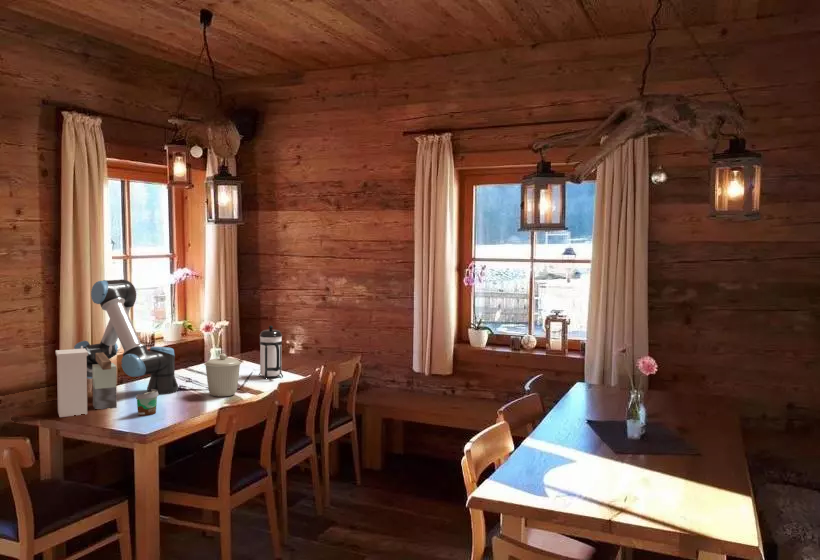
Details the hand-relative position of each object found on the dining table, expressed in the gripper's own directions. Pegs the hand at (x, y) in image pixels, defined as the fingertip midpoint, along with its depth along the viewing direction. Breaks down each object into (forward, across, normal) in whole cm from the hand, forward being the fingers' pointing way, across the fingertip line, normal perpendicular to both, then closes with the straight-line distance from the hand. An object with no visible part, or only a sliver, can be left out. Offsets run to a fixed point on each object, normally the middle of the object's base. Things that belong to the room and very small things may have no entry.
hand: (96, 347), depth 327 cm
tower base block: (+5, -1, -32) cm, 32 cm away
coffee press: (-20, -93, -18) cm, 97 cm away
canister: (+6, -56, -33) cm, 65 cm away
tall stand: (+10, +13, -35) cm, 38 cm away
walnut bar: (+12, -1, -13) cm, 18 cm away
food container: (+26, -17, -44) cm, 53 cm away
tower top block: (+10, -1, -23) cm, 25 cm away
